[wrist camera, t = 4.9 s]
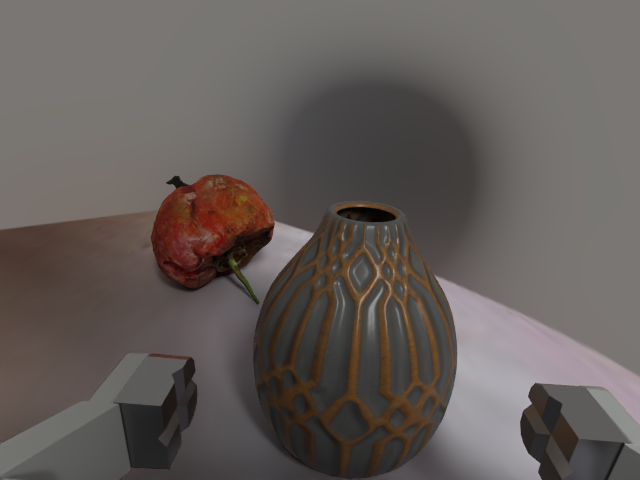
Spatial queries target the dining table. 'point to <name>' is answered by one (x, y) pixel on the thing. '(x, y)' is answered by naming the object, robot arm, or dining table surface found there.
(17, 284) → the dining table surface
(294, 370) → the vase
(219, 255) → the pomegranate
